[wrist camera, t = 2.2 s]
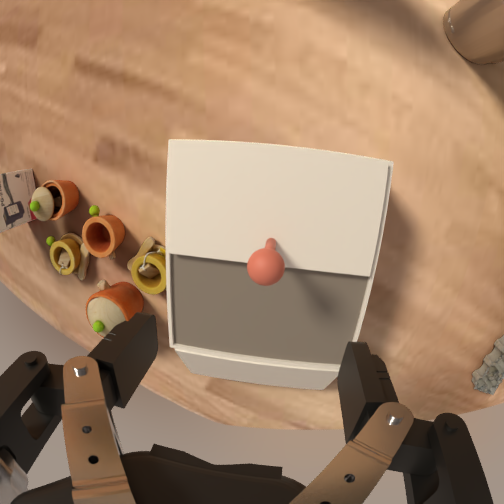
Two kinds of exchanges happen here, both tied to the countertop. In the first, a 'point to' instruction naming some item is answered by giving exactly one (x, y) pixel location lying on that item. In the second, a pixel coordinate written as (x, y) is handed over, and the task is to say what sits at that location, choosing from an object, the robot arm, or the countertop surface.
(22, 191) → the ink box
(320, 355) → the carton
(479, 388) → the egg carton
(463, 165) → the countertop surface
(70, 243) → the toy tea set
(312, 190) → the flap
